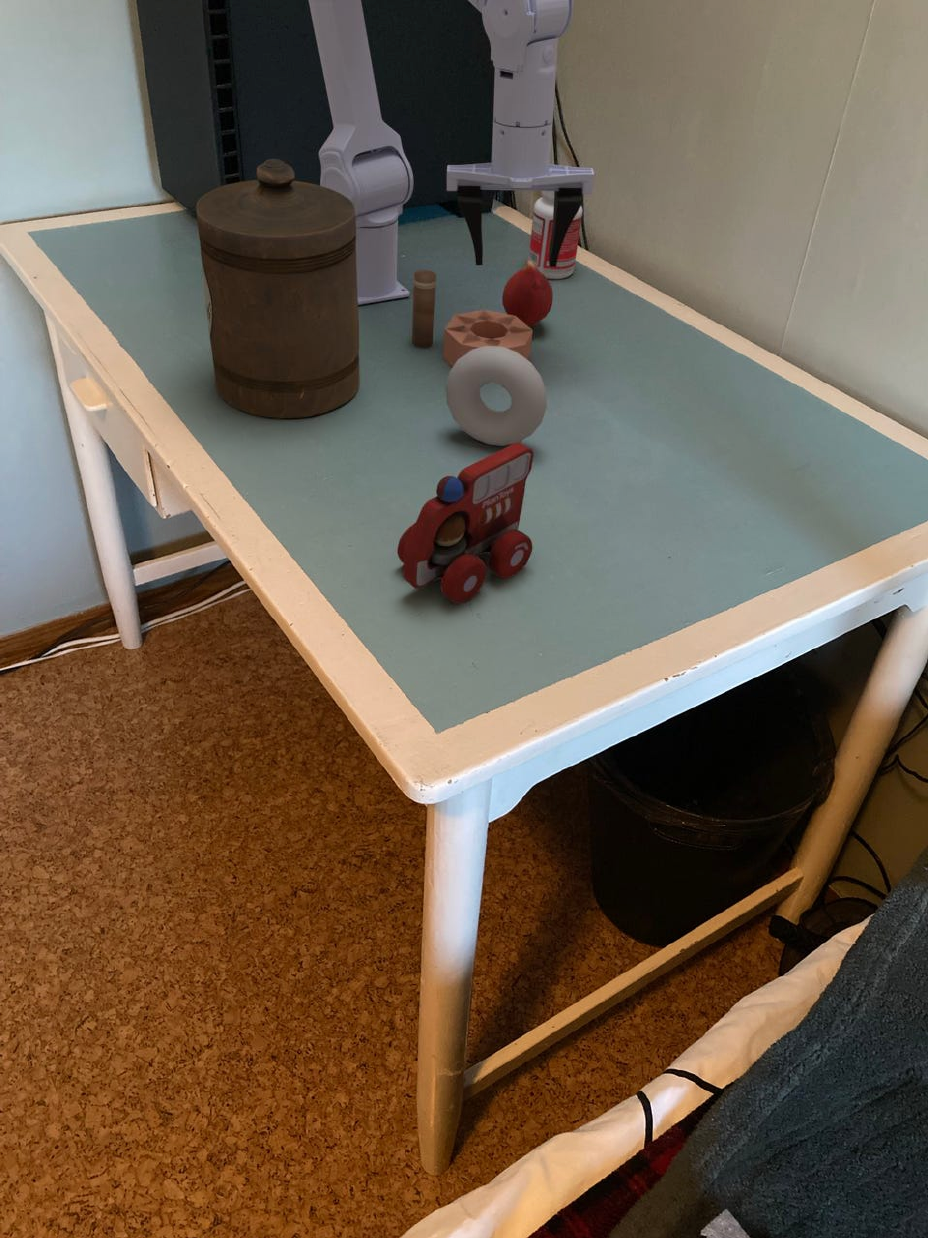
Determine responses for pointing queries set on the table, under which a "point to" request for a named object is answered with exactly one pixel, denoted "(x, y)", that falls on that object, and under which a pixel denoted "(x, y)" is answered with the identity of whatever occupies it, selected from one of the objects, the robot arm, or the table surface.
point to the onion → (528, 295)
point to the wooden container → (281, 293)
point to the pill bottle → (543, 237)
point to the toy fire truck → (471, 526)
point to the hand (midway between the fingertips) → (515, 262)
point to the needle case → (423, 308)
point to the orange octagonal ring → (485, 334)
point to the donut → (507, 373)
